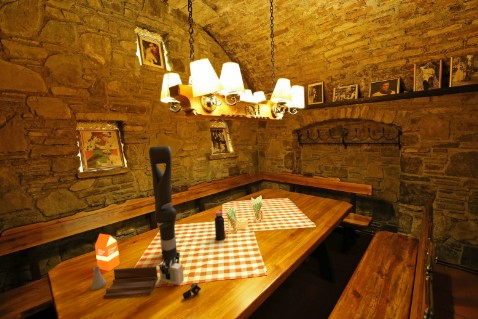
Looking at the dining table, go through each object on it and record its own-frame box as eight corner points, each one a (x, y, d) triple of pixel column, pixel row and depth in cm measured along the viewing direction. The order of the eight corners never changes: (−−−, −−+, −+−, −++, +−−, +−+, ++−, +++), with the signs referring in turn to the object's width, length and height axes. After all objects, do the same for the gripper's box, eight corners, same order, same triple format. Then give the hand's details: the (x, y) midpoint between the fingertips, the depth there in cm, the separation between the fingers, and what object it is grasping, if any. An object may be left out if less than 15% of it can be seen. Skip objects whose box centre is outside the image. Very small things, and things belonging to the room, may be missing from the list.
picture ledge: (116, 282, 122) (114, 268, 121) (157, 279, 122) (156, 266, 122) (104, 298, 110) (102, 284, 109) (150, 294, 111) (148, 280, 110)
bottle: (216, 236, 169) (214, 210, 166) (225, 236, 169) (224, 210, 166) (215, 240, 162) (213, 213, 159) (224, 240, 162) (223, 213, 159)
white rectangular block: (160, 280, 121) (158, 264, 120) (165, 275, 125) (164, 260, 124) (178, 285, 116) (177, 269, 115) (183, 280, 120) (182, 264, 119)
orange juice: (108, 271, 132) (104, 238, 129) (97, 268, 135) (93, 236, 132) (120, 263, 139) (116, 232, 137) (109, 261, 142) (105, 230, 140)
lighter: (188, 303, 107) (182, 297, 105) (187, 301, 109) (180, 295, 107) (201, 289, 110) (195, 283, 108) (200, 287, 111) (193, 281, 109)
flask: (89, 292, 115) (86, 273, 113) (92, 283, 121) (89, 266, 120) (105, 287, 118) (103, 269, 116) (107, 279, 124) (105, 262, 123)
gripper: (165, 254, 110) (168, 286, 112) (183, 240, 123) (185, 270, 126) (153, 251, 113) (156, 283, 115) (171, 238, 126) (174, 267, 128)
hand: (171, 276), depth 120 cm, fingers closed on white rectangular block, 4 cm apart
